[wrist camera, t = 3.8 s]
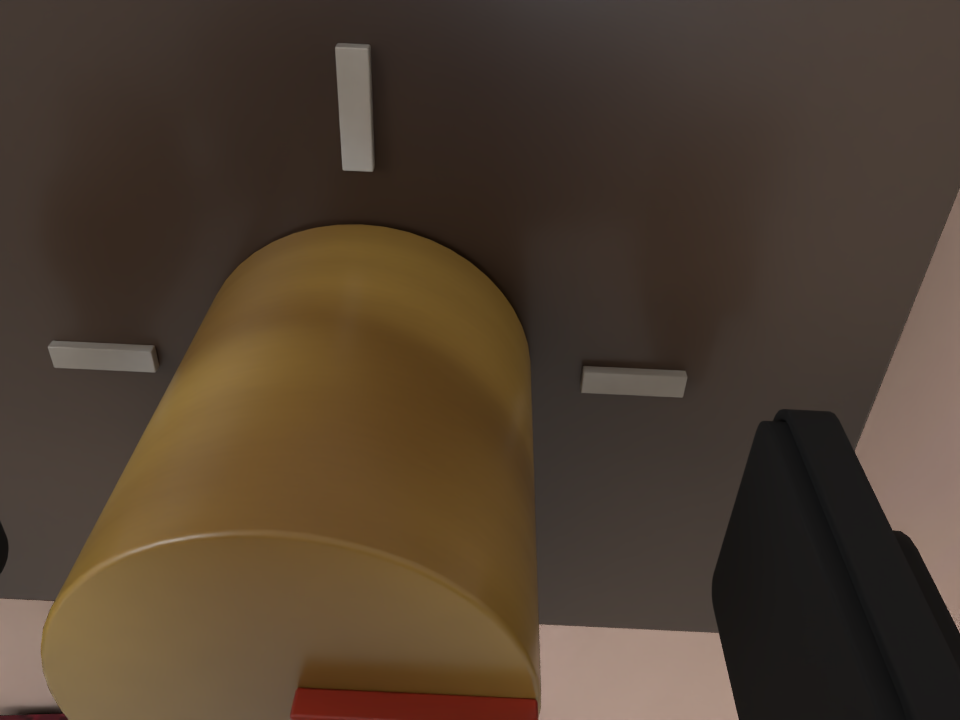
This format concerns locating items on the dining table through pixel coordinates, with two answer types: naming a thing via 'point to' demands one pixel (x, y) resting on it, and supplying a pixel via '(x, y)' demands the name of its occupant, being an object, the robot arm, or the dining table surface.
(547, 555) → the lock plate
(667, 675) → the dining table surface
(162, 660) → the lock knob
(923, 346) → the dining table surface
